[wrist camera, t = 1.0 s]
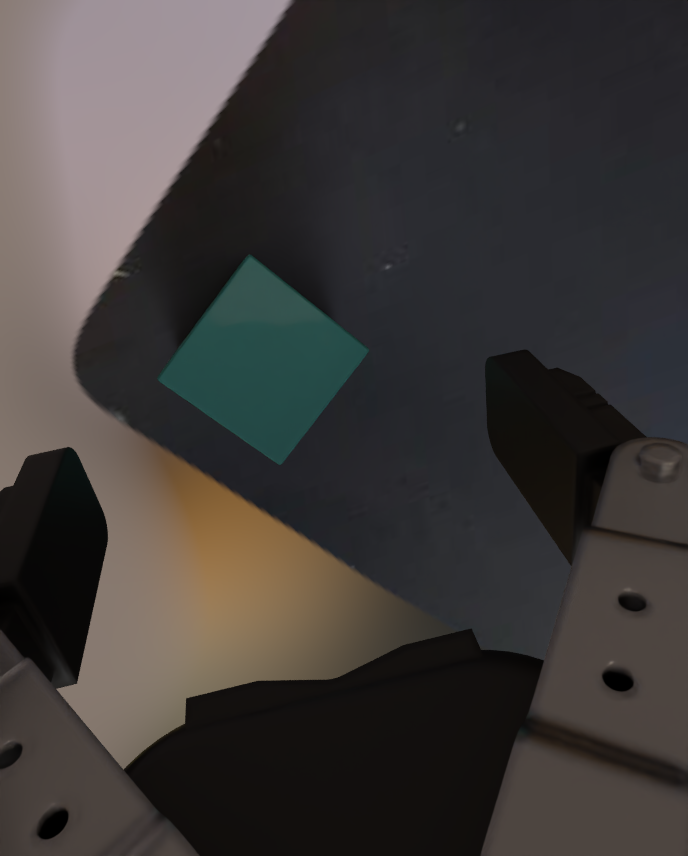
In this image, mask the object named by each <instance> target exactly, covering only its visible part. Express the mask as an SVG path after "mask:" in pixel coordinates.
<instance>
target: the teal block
mask: <svg viewBox="0 0 688 856" xmlns="http://www.w3.org/2000/svg"><path fill="white" fill-rule="evenodd" d="M368 352H369V349H368V347H366V346H365V345H364V344H363V343H361V342H360V341H359V340H358V339H356V338H355V337H354V336H352V335H351V334H350V333H349V332H347V331H346V330H345V329H344V328H342V327H341V326H340V325H339V324H337V323H336V322H335V321H334V320H332V319H331V318H330V317H329V316H327V315H326V314H325V313H324V312H322V311H321V310H320V309H319V308H317V307H316V306H315V305H314V304H312V303H311V302H310V301H309V300H307V299H306V298H305V297H304V296H302V295H301V294H300V293H298V292H297V291H296V290H295V289H293V288H292V287H291V286H290V285H288V284H287V283H286V282H285V281H283V280H282V279H281V278H280V277H278V276H277V275H276V274H275V273H273V272H272V271H271V270H270V269H268V268H267V267H266V266H265V265H263V264H262V263H261V262H260V261H258V260H257V259H256V258H255V257H253V256H252V255H248V256H247V257H246V258H245V259H244V260H243V261H242V262H241V264H240V265H239V266H238V268H237V269H236V270H235V272H234V273H233V275H232V276H231V277H230V279H229V280H228V281H227V283H226V284H225V285H224V287H223V288H222V289H221V291H220V292H219V293H218V295H217V296H216V297H215V299H214V300H213V301H212V303H211V304H210V305H209V307H208V308H207V310H206V311H205V312H204V314H203V315H202V316H201V318H200V319H199V320H198V322H197V323H196V324H195V326H194V327H193V328H192V330H191V331H190V332H189V334H188V335H187V336H186V338H185V339H184V341H183V342H182V343H181V345H180V346H179V347H178V349H177V350H176V351H175V353H174V354H173V356H172V357H171V359H170V360H169V361H168V363H167V364H166V366H165V367H164V369H163V370H162V371H161V373H160V374H159V376H158V378H157V379H158V381H159V382H161V383H162V384H164V385H165V386H166V387H168V388H169V389H171V390H172V391H174V392H175V393H177V394H178V395H179V396H181V397H182V398H184V399H185V400H187V401H188V402H189V403H191V404H192V405H194V406H195V407H197V408H198V409H200V410H201V411H202V412H204V413H205V414H207V415H208V416H210V417H211V418H212V419H214V420H215V421H217V422H218V423H220V424H221V425H222V426H224V427H225V428H227V429H228V430H230V431H231V432H233V433H234V434H235V435H237V436H238V437H240V438H241V439H243V440H244V441H245V442H247V443H248V444H250V445H251V446H253V447H254V448H256V449H257V450H258V451H260V452H261V453H263V454H264V455H266V456H267V457H268V458H270V459H271V460H273V461H274V462H276V463H277V464H279V465H281V464H282V463H283V462H284V460H285V459H286V458H287V457H288V455H289V454H290V453H291V451H292V450H293V449H294V448H295V446H296V445H297V444H298V442H299V441H300V440H301V438H302V437H303V436H304V435H305V433H306V432H307V431H308V429H309V428H310V427H311V426H312V424H313V423H314V422H315V420H316V419H317V418H318V417H319V415H320V414H321V413H322V411H323V410H324V409H325V407H326V406H327V405H328V404H329V402H330V401H331V400H332V398H333V397H334V396H335V395H336V393H337V392H338V391H339V389H340V388H341V387H342V386H343V384H344V383H345V382H346V380H347V379H348V378H349V376H350V375H351V374H352V373H353V371H354V370H355V369H356V367H357V366H358V365H359V364H360V362H361V361H362V360H363V358H364V357H365V356H366V355H367V353H368Z"/></svg>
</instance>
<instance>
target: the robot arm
mask: <svg viewBox="0 0 688 856" xmlns="http://www.w3.org/2000/svg"><path fill="white" fill-rule="evenodd" d="M485 377H486V405H487V428H488V434H489V439H490V443H491V446H492V449H493V451H494V453H495V455H496V457H497V458H498V460H499V461H500V463H501V464H502V465H503V467H504V468H505V470H506V471H507V473H508V474H509V476H510V477H511V479H512V480H513V482H514V483H515V484H516V486H517V487H518V489H519V490H520V492H521V493H522V495H523V496H524V498H525V499H526V501H527V502H528V503H529V505H530V506H531V508H532V509H533V511H534V512H535V514H536V515H537V517H538V518H539V520H540V521H541V522H542V524H543V525H544V527H545V528H546V530H547V531H548V533H549V534H550V536H551V537H552V539H553V540H554V541H555V543H556V544H557V546H558V547H559V549H560V550H561V552H562V553H563V555H564V556H565V558H566V559H567V560H568V562H569V563H570V565H571V566H572V568H571V571H570V574H569V578H568V581H567V585H566V588H565V591H564V595H563V598H562V602H561V605H560V608H559V612H558V615H557V619H556V622H555V625H554V629H553V632H552V636H551V639H550V642H549V646H548V649H547V653H546V656H545V659H544V660H541V659H537V658H534V657H531V656H528V655H523V654H518V653H513V652H507V651H497V650H481V649H480V647H479V644H478V642H477V640H476V638H475V635H474V633H473V631H472V629H468V630H463V631H459V632H455V633H451V634H448V635H443V636H439V637H435V638H431V639H427V640H423V641H419V642H415V643H411V644H406V645H403V646H401V647H399V648H397V649H395V650H393V651H391V652H389V653H387V654H385V655H383V656H381V657H379V658H377V659H375V660H373V661H371V662H369V663H367V664H365V665H363V666H360V667H358V668H357V669H355V670H352V671H350V672H348V673H346V674H345V675H343V676H340V677H338V678H334V679H329V680H287V681H285V680H281V681H256V682H252V683H248V684H243V685H239V686H235V687H231V688H227V689H223V690H219V691H215V692H211V693H207V694H203V695H198V696H195V697H190V698H187V699H186V716H185V724H183V725H181V726H180V727H178V728H176V729H174V730H172V731H171V732H169V733H168V734H166V735H164V736H163V737H161V738H160V739H159V740H157V741H156V742H154V743H153V744H152V745H151V746H149V747H148V748H147V749H146V750H144V751H143V752H142V753H141V754H139V755H138V756H137V757H136V758H135V759H134V760H133V761H132V762H131V763H130V764H129V765H128V766H127V767H126V768H125V769H124V770H123V769H122V768H121V767H120V765H119V764H118V763H117V762H116V761H115V759H114V758H113V757H112V756H111V754H110V753H109V752H108V751H107V750H106V749H105V747H104V746H103V745H102V744H101V742H100V741H99V740H98V739H97V738H96V736H95V735H94V734H93V733H92V732H91V730H90V729H89V728H88V727H87V726H86V724H85V723H84V722H83V721H82V720H81V718H80V717H79V716H78V715H77V714H76V712H75V711H74V710H73V709H72V708H71V707H70V705H69V704H68V703H67V702H66V701H65V699H63V697H62V696H61V695H60V693H59V692H58V691H57V690H56V689H57V688H61V687H65V686H69V685H73V684H77V681H78V676H79V671H80V667H81V662H82V658H83V653H84V649H85V644H86V639H87V635H88V630H89V626H90V621H91V616H92V612H93V607H94V603H95V598H96V593H97V589H98V584H99V580H100V575H101V570H102V566H103V561H104V556H105V552H106V547H107V542H108V531H107V524H106V519H105V516H104V513H103V510H102V508H101V506H100V503H99V501H98V499H97V497H96V494H95V492H94V490H93V488H92V486H91V483H90V481H89V479H88V477H87V474H86V472H85V470H84V468H83V466H82V463H81V461H80V459H79V457H78V455H77V453H76V452H75V451H74V450H73V449H72V448H70V447H67V448H62V449H57V450H53V451H48V452H44V453H39V454H34V455H30V456H28V457H27V458H26V459H25V461H24V464H23V466H22V468H21V470H20V472H19V474H18V477H17V479H16V481H15V483H14V485H13V486H10V487H6V488H4V489H3V490H1V491H0V856H688V444H685V443H683V442H680V441H676V440H672V439H666V438H657V437H646V436H645V435H644V434H643V433H641V432H640V431H639V430H638V429H637V428H636V427H635V426H634V425H633V424H631V423H630V422H629V421H628V420H627V419H626V418H625V417H624V416H623V415H622V414H620V413H619V412H618V411H617V410H616V409H615V408H614V407H613V406H612V405H608V403H607V401H606V400H605V399H604V398H603V397H602V396H601V395H600V394H598V393H597V394H596V392H595V390H594V389H593V388H592V387H591V386H590V385H589V384H587V383H586V382H585V381H584V380H583V379H582V378H581V377H579V376H576V375H574V374H571V373H569V372H567V371H564V370H562V369H559V368H554V369H549V370H548V369H547V368H546V367H545V366H544V365H543V364H542V363H541V362H540V361H539V360H538V359H536V358H535V357H534V356H533V355H532V354H531V353H530V352H529V351H528V350H520V351H516V352H511V353H506V354H502V355H497V356H492V357H489V358H488V359H487V361H486V366H485Z"/></svg>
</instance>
